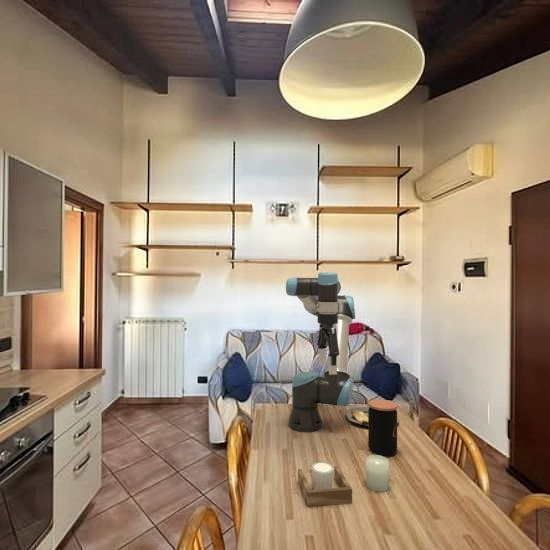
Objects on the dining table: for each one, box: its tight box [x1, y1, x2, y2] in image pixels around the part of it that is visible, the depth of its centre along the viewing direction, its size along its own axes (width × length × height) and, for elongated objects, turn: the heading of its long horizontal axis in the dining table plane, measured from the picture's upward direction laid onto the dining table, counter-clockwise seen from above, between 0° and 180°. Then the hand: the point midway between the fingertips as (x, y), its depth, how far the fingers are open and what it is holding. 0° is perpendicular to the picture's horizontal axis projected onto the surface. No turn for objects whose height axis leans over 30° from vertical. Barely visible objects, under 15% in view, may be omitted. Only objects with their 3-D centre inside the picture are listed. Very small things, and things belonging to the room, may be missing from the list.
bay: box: [297, 465, 353, 508], centre depth 111 cm, size 13×13×4 cm
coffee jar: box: [367, 399, 398, 458], centre depth 139 cm, size 11×11×18 cm
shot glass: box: [311, 461, 335, 490], centre depth 113 cm, size 7×7×7 cm
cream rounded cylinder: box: [365, 454, 390, 493], centre depth 115 cm, size 7×7×8 cm
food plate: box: [344, 406, 400, 427], centre depth 170 cm, size 25×23×4 cm
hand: (327, 369), depth 136 cm, fingers open, 13 cm apart
